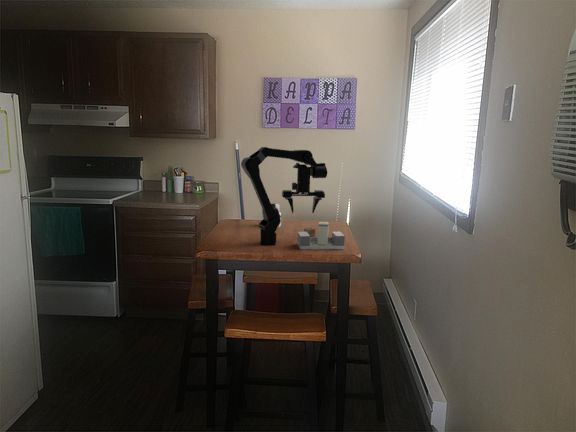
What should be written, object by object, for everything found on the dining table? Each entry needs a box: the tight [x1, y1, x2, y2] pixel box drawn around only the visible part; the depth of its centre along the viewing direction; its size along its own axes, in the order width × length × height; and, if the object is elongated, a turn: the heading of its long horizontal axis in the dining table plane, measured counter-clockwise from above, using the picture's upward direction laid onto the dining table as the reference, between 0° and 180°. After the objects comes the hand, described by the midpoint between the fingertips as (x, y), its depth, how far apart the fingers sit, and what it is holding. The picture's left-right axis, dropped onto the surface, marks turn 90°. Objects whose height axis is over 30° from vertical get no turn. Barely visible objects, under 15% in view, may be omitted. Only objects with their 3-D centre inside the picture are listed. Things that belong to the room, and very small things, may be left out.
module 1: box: [297, 231, 310, 246], centre depth 190 cm, size 4×8×4 cm, turn 7°
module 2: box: [331, 231, 346, 246], centre depth 192 cm, size 4×8×4 cm, turn 7°
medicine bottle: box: [271, 203, 282, 229], centre depth 232 cm, size 7×7×12 cm
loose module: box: [317, 221, 330, 245], centre depth 191 cm, size 4×5×9 cm
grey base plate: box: [296, 236, 345, 250], centre depth 192 cm, size 19×10×3 cm, turn 97°
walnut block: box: [303, 227, 316, 237], centre depth 210 cm, size 4×4×4 cm
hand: (302, 213), depth 199 cm, fingers open, 9 cm apart
